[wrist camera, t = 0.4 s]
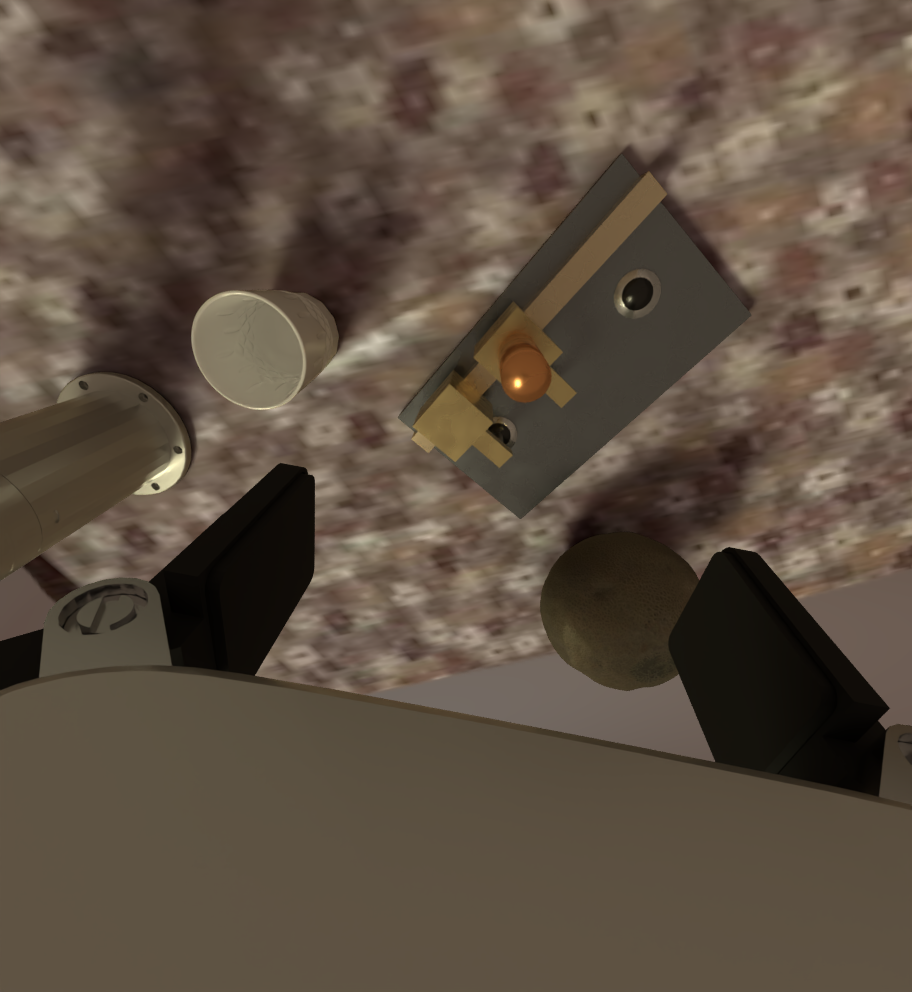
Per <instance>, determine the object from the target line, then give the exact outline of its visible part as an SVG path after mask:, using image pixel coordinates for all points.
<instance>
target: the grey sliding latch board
mask: <svg viewBox="0 0 912 992" xmlns="http://www.w3.org/2000/svg"><path fill="white" fill-rule="evenodd" d="M666 195H667V193H666V192H665V190H664V189H663V188H662V187H661V185H660V184H659V183H658V182H657V180H656V179H655V178H654V177H653V175H652V174H651V173H650V172H649V171H648V172H646V173H645V174H643V175H641V176H639V174H638V173H637V172H636V171H635V169H634V168H633V167H632V166H631V164H630V163H629V162H628V161H627V159H626V158H625V157H624V156H623V154H620V155H619V156H618V157H617V158H616V159H615V161H614V162H613V163H612V164H611V165H610V166H609V168H608V169H607V170H606V171H605V172H604V174H603V175H602V176H601V177H600V178H599V179H598V181H597V182H596V183H595V184H594V185H593V187H592V188H591V189H590V190H589V191H588V192H587V194H586V195H585V196H584V197H583V198H582V200H581V201H580V202H579V203H578V204H577V205H576V207H575V208H574V209H573V210H572V211H571V213H570V214H569V215H568V216H567V217H566V218H565V220H564V221H563V222H562V223H561V224H560V226H559V227H558V228H557V229H556V230H555V231H554V233H553V234H552V235H551V236H550V237H549V239H548V240H547V241H546V242H545V243H544V244H543V246H542V247H541V248H540V249H539V250H538V252H537V253H536V254H535V255H534V256H533V257H532V259H531V260H530V261H529V262H528V263H527V265H526V266H525V267H524V268H523V269H522V270H521V272H520V273H519V274H518V275H517V276H516V278H515V279H514V280H513V281H512V282H511V283H510V285H509V286H508V287H507V288H506V289H505V291H504V292H503V293H502V294H501V295H500V296H499V298H498V299H497V300H496V301H495V302H494V304H493V305H492V306H491V307H490V308H489V309H488V311H487V312H486V313H485V314H484V315H483V317H482V318H481V319H480V320H479V321H478V322H477V324H476V325H475V326H474V327H473V328H472V330H471V331H470V332H469V333H468V334H467V335H466V337H465V338H464V339H463V340H462V341H461V343H460V344H459V345H458V346H457V347H456V348H455V350H454V351H453V352H452V353H451V354H450V356H449V357H448V358H447V359H446V360H445V361H444V363H443V364H442V365H441V366H440V367H439V369H438V370H437V371H436V372H435V373H434V374H433V376H432V377H431V378H430V379H429V380H428V382H427V383H426V384H425V385H424V386H423V387H422V389H421V390H420V391H419V392H418V393H417V395H416V396H415V397H414V398H413V399H412V400H411V402H410V403H409V404H408V405H407V406H406V408H405V409H404V410H403V411H402V412H401V413H400V415H399V416H398V418H399V419H400V420H401V421H402V422H403V423H405V424H406V425H407V426H408V427H409V428H411V429H412V430H413V431H414V434H413V436H412V440H413V441H414V442H416V443H417V444H418V445H419V446H420V447H422V448H423V449H424V450H425V451H427V452H428V453H429V452H430V451H431V450H432V449H433V448H435V449H436V450H437V451H438V452H440V453H441V454H442V455H443V456H445V457H446V458H447V459H448V460H449V461H451V462H452V463H453V464H454V465H455V466H457V467H458V468H459V469H460V470H462V471H463V472H464V473H465V474H466V475H468V476H469V477H470V478H471V479H472V480H474V481H475V482H476V483H477V484H478V485H480V486H481V487H482V488H483V489H485V490H486V491H487V492H488V493H489V494H491V495H492V496H493V497H494V498H495V499H497V500H498V501H499V502H500V503H501V504H503V505H504V506H505V507H506V508H508V509H509V510H510V511H511V512H512V513H514V514H515V515H516V516H517V517H518V518H520V519H521V518H523V517H524V516H525V515H526V514H527V513H528V512H529V511H530V510H532V509H533V508H534V507H535V506H536V505H537V504H538V503H539V502H541V501H542V500H543V499H544V498H545V497H546V496H547V495H549V494H550V493H551V492H552V491H553V490H554V489H555V488H556V487H558V486H559V485H560V484H561V483H562V482H563V481H564V480H566V479H567V478H568V477H569V476H570V475H571V474H572V473H573V472H575V471H576V470H577V469H578V468H579V467H580V466H581V465H583V464H584V463H585V462H586V461H587V460H588V459H589V458H590V457H592V456H593V455H594V454H595V453H596V452H597V451H598V450H600V449H601V448H602V447H603V446H604V445H605V444H606V443H607V442H609V441H610V440H611V439H612V438H613V437H614V436H615V435H617V434H618V433H619V432H620V431H621V430H622V429H623V428H624V427H626V426H627V425H628V424H629V423H630V422H631V421H632V420H634V419H635V418H636V417H637V416H638V415H639V414H640V413H641V412H643V411H644V410H645V409H646V408H647V407H648V406H649V405H651V404H652V403H653V402H654V401H655V400H656V399H657V398H658V397H660V396H661V395H662V394H663V393H664V392H665V391H666V390H667V389H669V388H670V387H671V386H672V385H673V384H674V383H675V382H677V381H678V380H679V379H680V378H681V377H682V376H683V375H684V374H686V373H687V372H688V371H689V370H690V369H691V368H692V367H694V366H695V365H696V364H697V363H698V362H699V361H700V360H701V359H703V358H704V357H705V356H706V355H707V354H708V353H709V352H711V351H712V350H713V349H714V348H715V347H716V346H717V345H718V344H720V343H721V342H722V341H723V340H724V339H725V338H726V337H728V336H729V335H730V334H731V333H732V332H733V331H734V330H735V329H737V328H738V327H739V326H740V325H741V324H742V323H743V322H745V321H746V320H747V319H748V318H749V317H750V316H751V313H750V312H749V311H748V310H747V308H746V307H745V306H744V305H743V304H742V302H741V301H740V300H739V299H738V297H737V296H736V295H735V294H734V292H733V291H732V290H731V289H730V287H729V286H728V285H727V284H726V282H725V281H724V280H723V279H722V277H721V276H720V275H719V274H718V272H717V271H716V270H715V269H714V268H713V266H712V265H711V264H710V263H709V261H708V260H707V259H706V258H705V256H704V255H703V254H702V253H701V251H700V250H699V249H698V248H697V246H696V245H695V244H694V243H693V241H692V240H691V239H690V238H689V236H688V235H687V234H686V233H685V231H684V230H683V229H682V228H681V227H680V225H679V224H678V223H677V222H676V220H675V219H674V218H673V217H672V215H671V214H670V213H669V212H668V210H667V209H666V208H665V207H664V205H663V204H662V203H661V201H662V200H663V198H664V197H665V196H666ZM513 301H514V302H515V303H516V304H517V305H518V306H519V307H520V308H521V309H522V310H523V311H524V312H525V313H526V314H527V315H528V316H529V317H530V318H531V319H532V320H533V321H534V322H535V323H536V324H537V325H538V326H539V327H540V328H541V329H542V330H543V331H544V332H545V333H546V334H547V335H548V336H549V337H550V338H551V339H552V340H553V341H554V342H555V344H556V345H557V346H558V347H559V348H560V349H561V350H562V352H563V353H562V354H561V355H560V356H559V357H558V358H557V359H556V360H555V361H554V362H553V363H552V364H551V365H550V366H551V367H552V368H553V369H554V370H555V371H556V372H557V373H558V374H559V375H560V376H561V377H562V378H563V379H564V380H565V381H566V382H567V383H568V384H569V385H570V386H571V387H572V388H573V389H574V390H575V391H576V393H577V394H575V395H574V396H573V397H572V398H571V399H570V400H569V401H568V402H567V403H566V404H565V405H564V406H563V407H562V408H561V407H560V406H559V405H558V404H557V403H555V402H554V401H553V400H552V399H551V398H550V397H549V396H548V395H547V394H546V393H545V394H544V395H543V396H542V397H540V398H539V399H537V400H535V401H532V402H527V403H523V402H518V401H515V400H513V399H511V398H510V397H509V396H508V395H507V394H506V393H505V391H504V389H503V387H502V384H501V383H500V382H499V381H498V380H497V379H496V378H495V377H494V376H493V375H492V374H491V373H490V372H488V371H487V370H486V369H485V368H484V367H483V366H482V365H481V364H480V363H479V362H478V361H477V360H475V359H474V358H473V356H474V348H475V345H476V344H477V343H478V341H479V340H480V339H481V338H482V337H483V336H484V334H485V333H486V332H487V331H488V330H489V329H490V327H491V326H492V325H493V324H494V323H495V322H496V321H497V319H498V318H499V317H500V316H501V315H502V314H503V312H504V311H505V310H506V309H507V308H508V307H509V306H510V304H511V303H512V302H513Z"/></svg>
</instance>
